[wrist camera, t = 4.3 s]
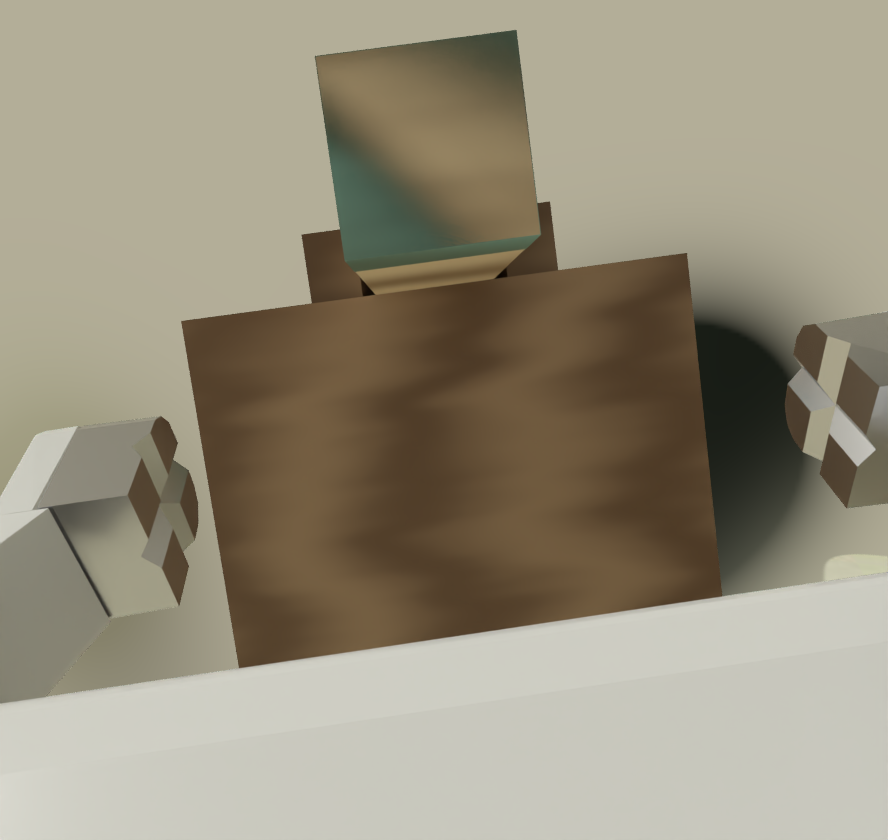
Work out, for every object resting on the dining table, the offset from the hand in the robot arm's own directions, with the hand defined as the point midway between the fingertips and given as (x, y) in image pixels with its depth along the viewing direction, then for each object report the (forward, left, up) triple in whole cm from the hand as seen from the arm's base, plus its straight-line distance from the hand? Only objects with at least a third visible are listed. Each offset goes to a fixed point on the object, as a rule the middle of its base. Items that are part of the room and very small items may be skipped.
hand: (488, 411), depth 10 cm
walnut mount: (-7, -19, -23) cm, 31 cm away
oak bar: (-5, -15, +3) cm, 16 cm away
